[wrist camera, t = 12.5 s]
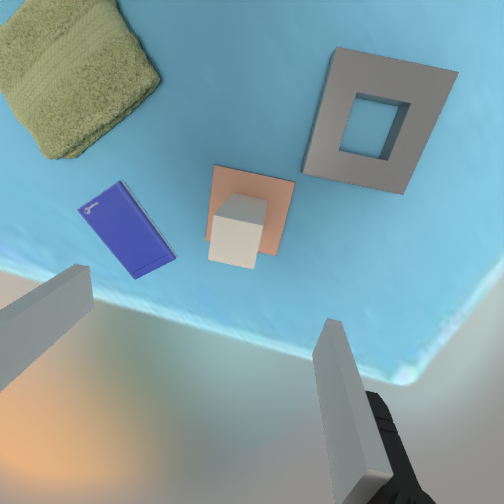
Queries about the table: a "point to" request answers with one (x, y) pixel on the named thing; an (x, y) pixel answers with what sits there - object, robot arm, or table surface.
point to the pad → (257, 187)
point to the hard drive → (127, 230)
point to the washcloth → (71, 72)
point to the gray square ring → (385, 91)
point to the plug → (237, 230)
